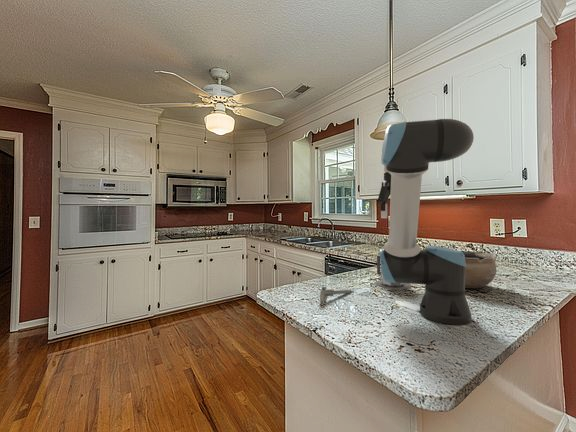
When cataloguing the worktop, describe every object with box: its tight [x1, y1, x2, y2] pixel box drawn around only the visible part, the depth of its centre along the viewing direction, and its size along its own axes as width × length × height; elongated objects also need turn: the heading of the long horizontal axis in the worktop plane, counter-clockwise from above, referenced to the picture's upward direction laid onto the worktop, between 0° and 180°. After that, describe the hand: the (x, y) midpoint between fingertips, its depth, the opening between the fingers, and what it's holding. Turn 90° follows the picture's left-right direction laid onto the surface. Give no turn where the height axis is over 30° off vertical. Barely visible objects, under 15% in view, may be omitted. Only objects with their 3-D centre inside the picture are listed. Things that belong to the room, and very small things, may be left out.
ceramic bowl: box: [460, 250, 498, 289], centre depth 125 cm, size 22×22×15 cm
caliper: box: [319, 286, 354, 304], centre depth 112 cm, size 20×1×6 cm, turn 131°
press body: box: [376, 252, 405, 287], centre depth 127 cm, size 13×10×15 cm
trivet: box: [374, 279, 412, 291], centre depth 126 cm, size 16×16×1 cm
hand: (392, 217), depth 126 cm, fingers open, 13 cm apart
